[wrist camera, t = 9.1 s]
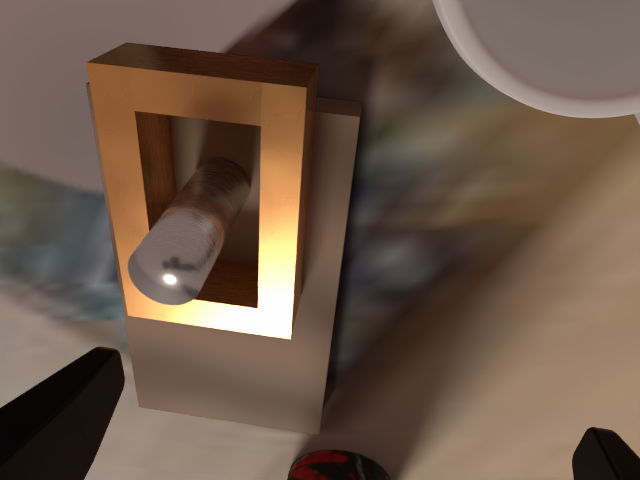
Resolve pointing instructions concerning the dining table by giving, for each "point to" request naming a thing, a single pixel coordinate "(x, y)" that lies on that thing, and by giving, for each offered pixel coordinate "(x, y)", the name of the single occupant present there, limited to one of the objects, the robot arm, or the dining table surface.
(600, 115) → the teacup
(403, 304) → the dining table surface
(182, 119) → the board
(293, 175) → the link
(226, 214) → the keeper peg
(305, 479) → the deodorant
